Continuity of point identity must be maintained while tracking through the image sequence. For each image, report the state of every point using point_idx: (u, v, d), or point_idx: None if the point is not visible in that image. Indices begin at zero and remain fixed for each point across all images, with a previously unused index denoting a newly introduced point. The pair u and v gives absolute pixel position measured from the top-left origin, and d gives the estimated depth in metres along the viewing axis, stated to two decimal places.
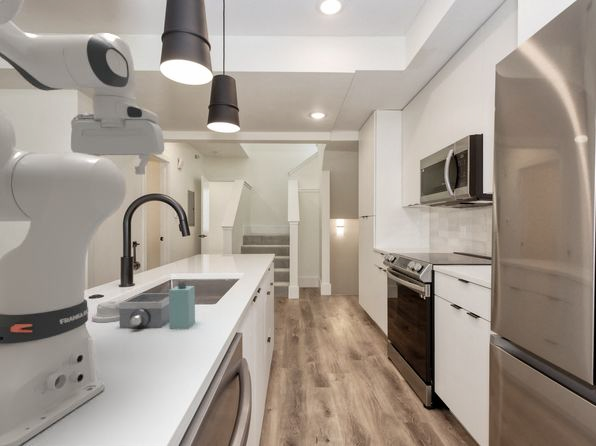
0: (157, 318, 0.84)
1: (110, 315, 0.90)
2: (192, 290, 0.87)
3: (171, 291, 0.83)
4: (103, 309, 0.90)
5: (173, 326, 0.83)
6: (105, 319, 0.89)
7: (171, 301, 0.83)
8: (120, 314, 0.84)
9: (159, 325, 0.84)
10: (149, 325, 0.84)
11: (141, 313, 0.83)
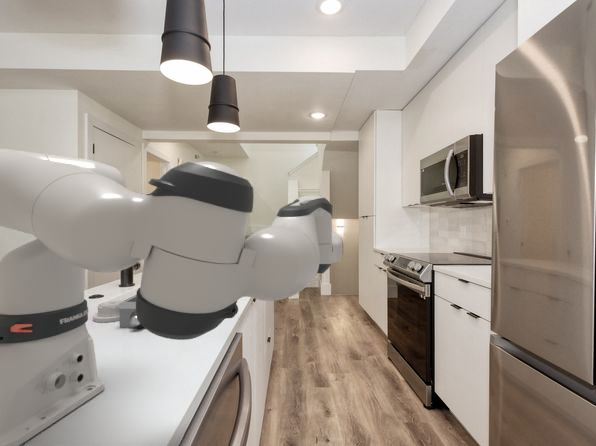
0: None
1: (111, 315, 0.90)
2: None
3: None
4: (104, 309, 0.90)
5: None
6: (106, 319, 0.89)
7: None
8: (120, 314, 0.84)
9: None
10: None
11: None
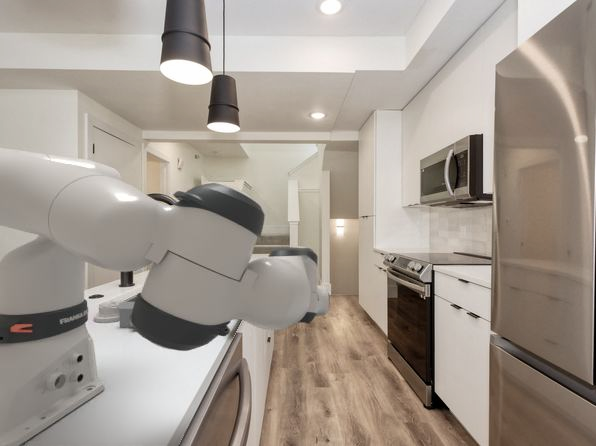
0: None
1: (112, 315, 0.90)
2: None
3: None
4: (105, 309, 0.90)
5: None
6: (107, 319, 0.89)
7: None
8: (120, 314, 0.84)
9: None
10: None
11: None
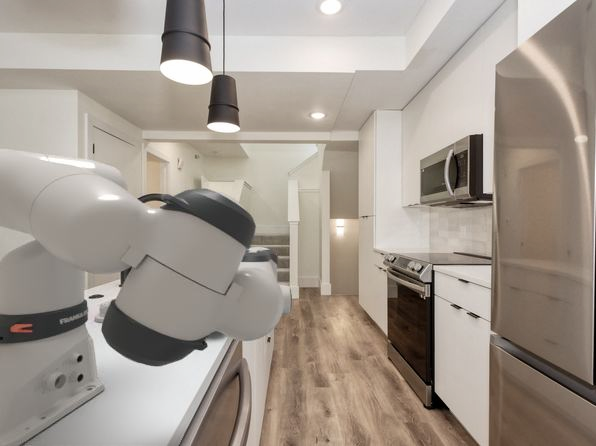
0: None
1: None
2: None
3: None
4: (106, 309, 0.90)
5: None
6: None
7: None
8: None
9: None
10: None
11: None
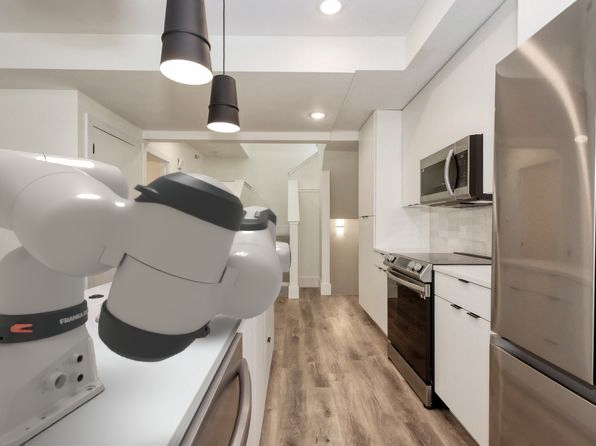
0: None
1: None
2: None
3: None
4: None
5: None
6: None
7: None
8: None
9: None
10: None
11: None
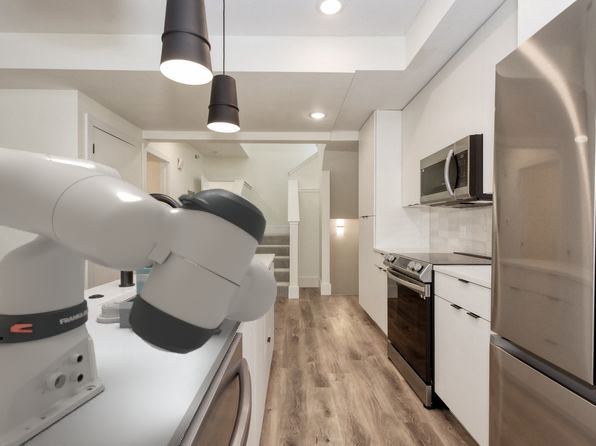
0: None
1: (115, 316, 0.89)
2: None
3: (138, 270, 0.87)
4: (108, 310, 0.89)
5: None
6: (110, 320, 0.88)
7: None
8: (120, 314, 0.84)
9: None
10: None
11: None
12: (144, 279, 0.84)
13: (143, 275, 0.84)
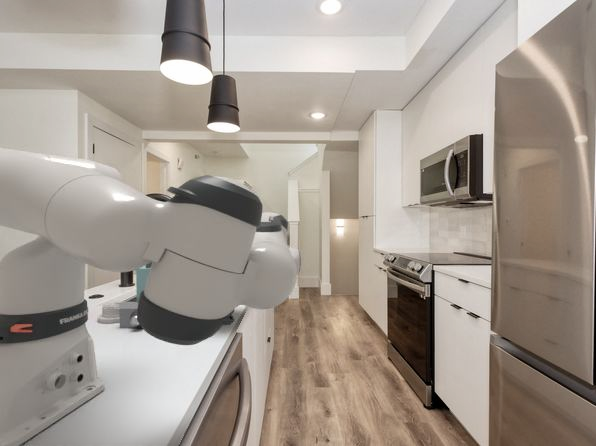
0: None
1: (115, 316, 0.89)
2: None
3: (138, 270, 0.87)
4: (108, 310, 0.89)
5: None
6: (110, 320, 0.88)
7: (138, 279, 0.87)
8: (120, 314, 0.84)
9: None
10: None
11: None
12: None
13: None
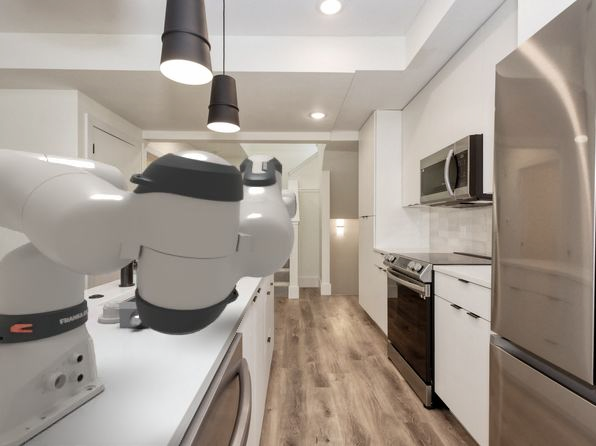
0: None
1: (116, 316, 0.89)
2: None
3: None
4: (109, 310, 0.89)
5: None
6: (111, 320, 0.88)
7: None
8: (120, 314, 0.84)
9: None
10: None
11: None
12: None
13: None
